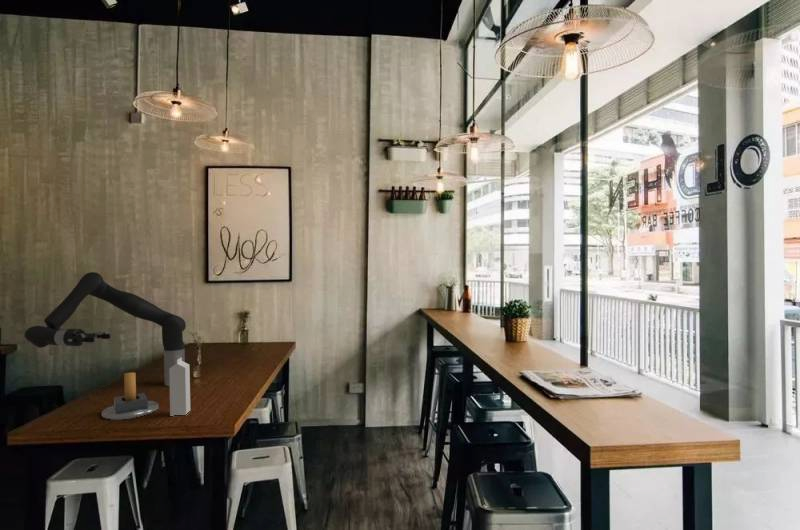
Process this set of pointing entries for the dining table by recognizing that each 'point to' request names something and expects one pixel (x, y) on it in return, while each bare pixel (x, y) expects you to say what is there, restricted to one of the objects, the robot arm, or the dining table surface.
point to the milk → (179, 388)
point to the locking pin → (130, 386)
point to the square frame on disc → (130, 408)
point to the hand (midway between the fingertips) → (101, 338)
